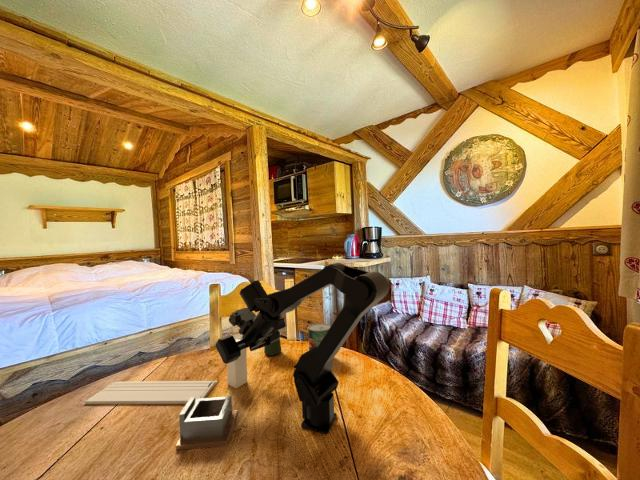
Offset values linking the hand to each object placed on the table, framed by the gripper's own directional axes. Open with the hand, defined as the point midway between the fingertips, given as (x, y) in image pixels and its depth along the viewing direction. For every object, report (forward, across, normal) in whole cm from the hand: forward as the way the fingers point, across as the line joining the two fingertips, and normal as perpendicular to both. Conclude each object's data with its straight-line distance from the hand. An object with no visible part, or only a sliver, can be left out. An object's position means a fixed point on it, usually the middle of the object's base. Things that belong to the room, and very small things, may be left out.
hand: (237, 355), depth 79 cm
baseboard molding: (+18, +15, -5) cm, 24 cm away
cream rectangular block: (+6, 0, +6) cm, 8 cm away
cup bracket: (-2, +16, +13) cm, 21 cm away
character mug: (+11, -20, +1) cm, 23 cm away
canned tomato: (-1, -26, +13) cm, 30 cm away
